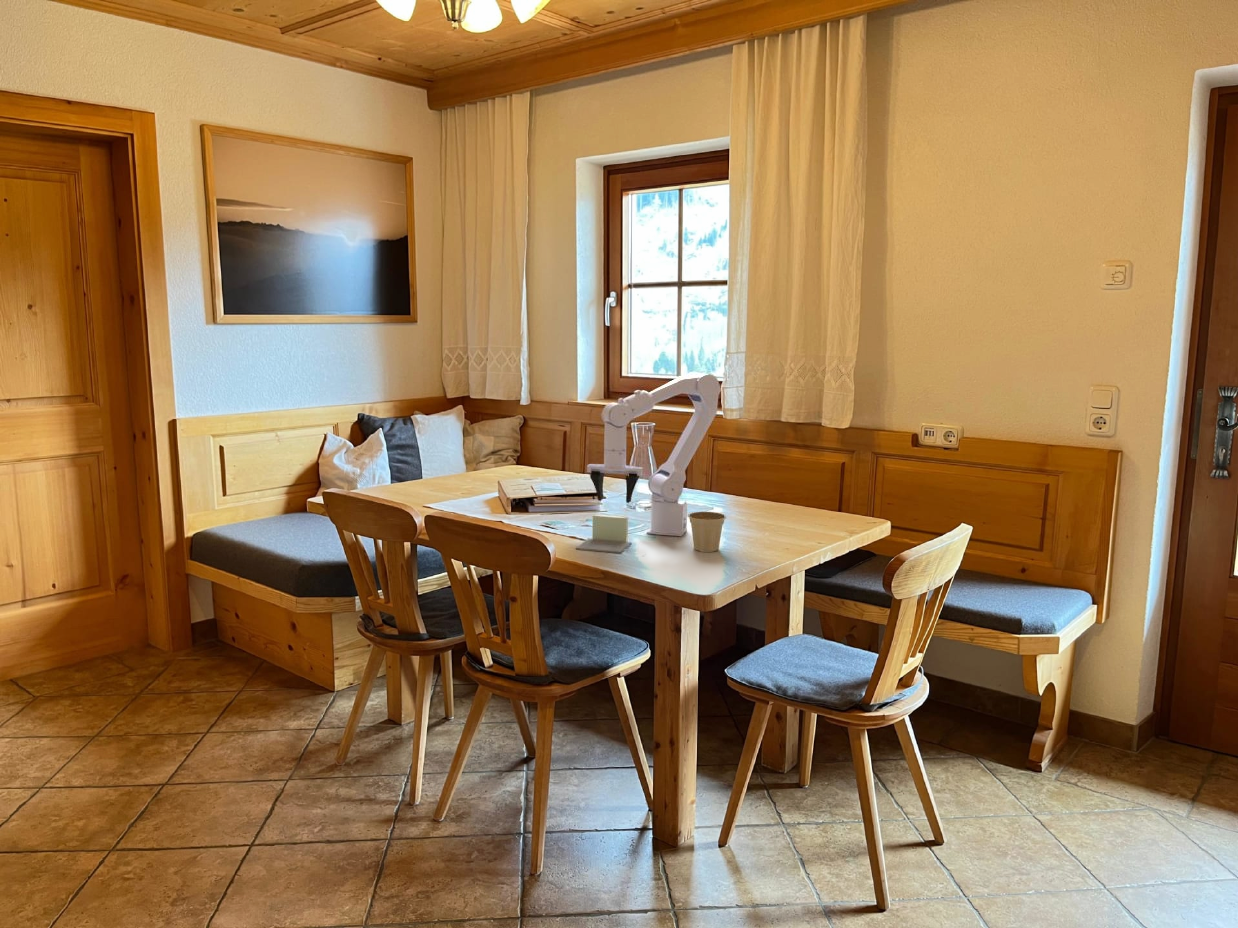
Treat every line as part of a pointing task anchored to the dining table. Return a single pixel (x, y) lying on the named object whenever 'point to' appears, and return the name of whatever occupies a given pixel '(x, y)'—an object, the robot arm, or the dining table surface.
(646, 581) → the dining table surface
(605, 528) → the tile
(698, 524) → the flower pot
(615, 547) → the mat
